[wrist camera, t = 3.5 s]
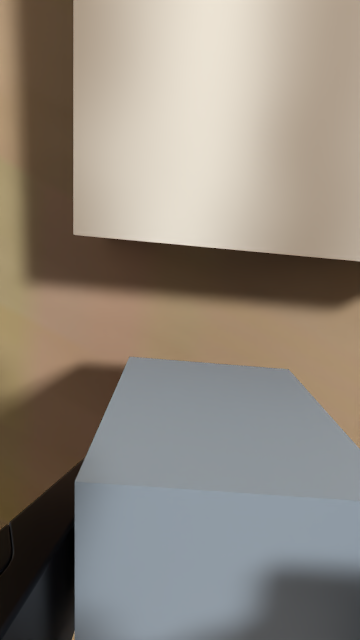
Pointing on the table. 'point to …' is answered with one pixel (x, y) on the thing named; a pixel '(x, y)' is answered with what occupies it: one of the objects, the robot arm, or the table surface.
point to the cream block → (219, 124)
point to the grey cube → (217, 510)
